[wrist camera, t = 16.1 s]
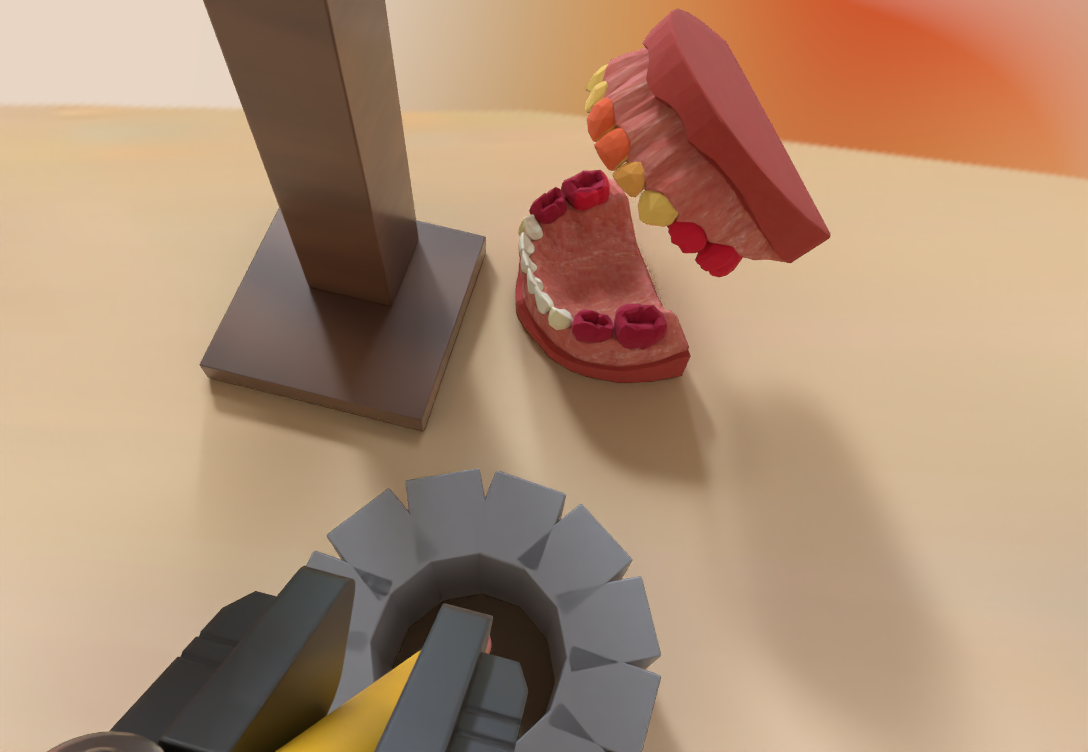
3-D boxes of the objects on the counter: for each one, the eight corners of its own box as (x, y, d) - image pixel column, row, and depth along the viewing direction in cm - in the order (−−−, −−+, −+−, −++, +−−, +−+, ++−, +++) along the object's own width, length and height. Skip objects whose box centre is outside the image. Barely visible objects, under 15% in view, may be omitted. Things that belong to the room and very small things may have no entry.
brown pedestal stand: (300, 190, 41) (-130, -1138, 13) (491, 235, 41) (477, -1064, 12) (197, 397, 36) (-935, -1120, 8) (416, 452, 35) (79, -986, 7)
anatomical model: (454, 227, 40) (599, -50, 28) (588, 232, 44) (762, -9, 33) (518, 418, 36) (718, 181, 24) (660, 403, 40) (889, 195, 28)
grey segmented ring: (592, 500, 35) (609, 446, 29) (665, 816, 29) (702, 820, 24) (303, 550, 33) (266, 502, 28) (325, 894, 28) (284, 917, 22)
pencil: (443, 664, 25) (450, 617, 26) (488, 670, 25) (494, 623, 26) (68, 1029, 6) (112, 816, 6) (261, 1059, 6) (297, 841, 6)
